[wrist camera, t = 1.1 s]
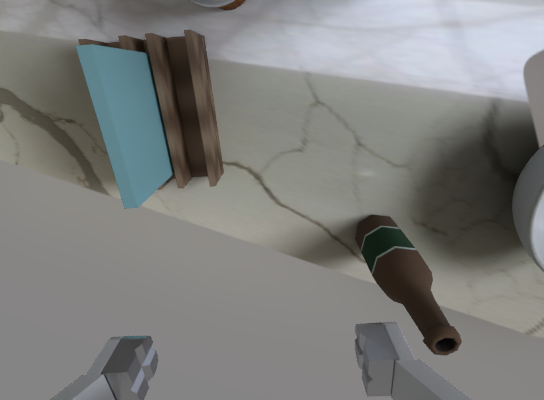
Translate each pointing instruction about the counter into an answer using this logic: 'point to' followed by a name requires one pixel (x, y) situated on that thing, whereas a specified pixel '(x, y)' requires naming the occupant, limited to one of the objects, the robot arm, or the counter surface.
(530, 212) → the decorative bowl
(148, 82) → the tall sheet
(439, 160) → the counter surface
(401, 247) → the beer bottle
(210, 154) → the rack
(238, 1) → the disposable coffee cup
